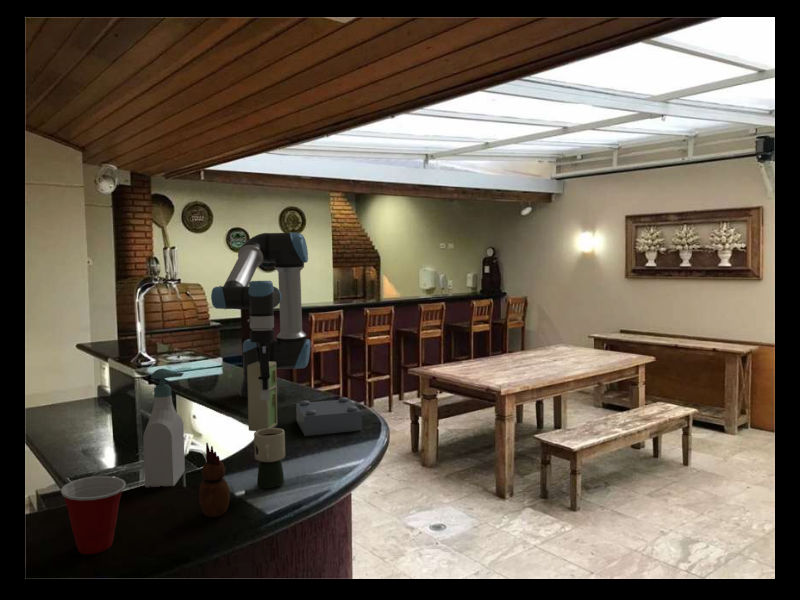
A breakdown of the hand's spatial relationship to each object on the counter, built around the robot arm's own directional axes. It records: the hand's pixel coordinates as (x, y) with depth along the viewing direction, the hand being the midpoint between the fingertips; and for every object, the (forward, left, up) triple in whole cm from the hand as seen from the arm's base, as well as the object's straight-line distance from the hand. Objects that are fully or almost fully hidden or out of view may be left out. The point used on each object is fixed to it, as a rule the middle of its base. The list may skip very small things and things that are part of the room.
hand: (263, 395), depth 188 cm
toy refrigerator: (0, 0, -11) cm, 11 cm away
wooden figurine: (+63, -15, -11) cm, 66 cm away
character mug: (+50, -3, -11) cm, 52 cm away
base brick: (+4, +20, -11) cm, 23 cm away
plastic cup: (+71, -37, -11) cm, 80 cm away
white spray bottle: (+38, -26, -11) cm, 47 cm away
